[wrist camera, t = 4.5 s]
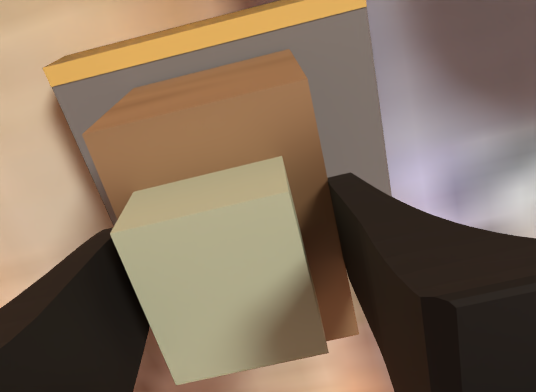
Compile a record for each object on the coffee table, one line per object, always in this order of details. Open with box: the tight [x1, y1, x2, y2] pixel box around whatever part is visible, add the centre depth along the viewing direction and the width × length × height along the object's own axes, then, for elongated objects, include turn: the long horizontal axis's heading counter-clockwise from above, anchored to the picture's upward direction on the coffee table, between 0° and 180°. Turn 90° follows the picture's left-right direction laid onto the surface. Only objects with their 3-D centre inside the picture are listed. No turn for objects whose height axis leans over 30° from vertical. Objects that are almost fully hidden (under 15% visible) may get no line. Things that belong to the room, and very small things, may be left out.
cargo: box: [110, 156, 329, 385], centre depth 11 cm, size 4×4×2 cm
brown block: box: [82, 49, 359, 341], centre depth 14 cm, size 7×5×5 cm
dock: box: [43, 0, 392, 226], centre depth 17 cm, size 9×10×2 cm
